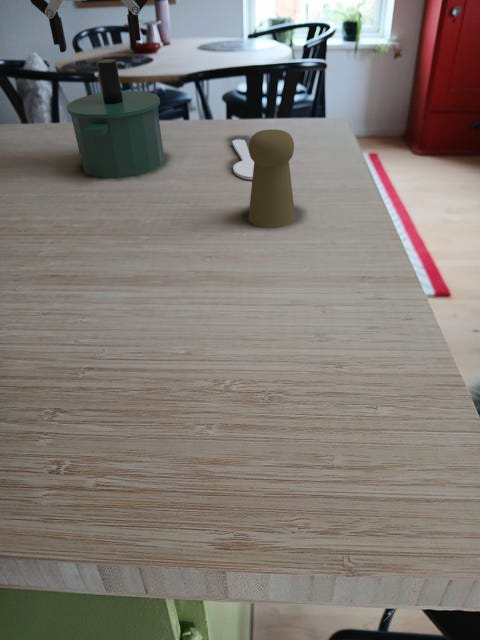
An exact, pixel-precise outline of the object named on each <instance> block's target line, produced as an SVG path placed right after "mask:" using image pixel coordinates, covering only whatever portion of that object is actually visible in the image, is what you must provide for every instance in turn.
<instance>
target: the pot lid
mask: <svg viewBox="0 0 480 640" xmlns="http://www.w3.org/2000/svg"><path fill="white" fill-rule="evenodd" d="M96 68H97V74H98V78H99V84H100V89H101V92H100V93H99V92H98V93H94V94H88V95H85V96H82V97H79V98H76V99H74V100H71V101H70V102H69V103H67V105H66V112H67V113H68V115H70V116H71V115H72V116H75V117H79V118H87V119H109V118H119V117H126V116H132V115H137V114H141V113H144V112H147V111H150V110H152V109H154V108H156V107H157V108H158V106H160V104H161V99H160V96H159V95H157V94H155V93H153V92H148V91H141V90H122V87H121V81H120V75H119V74H120V73H119V70H118V69H119V68H118V62H117V60H116V59H114V58H106V59H99V60H97V61H96Z"/></svg>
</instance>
